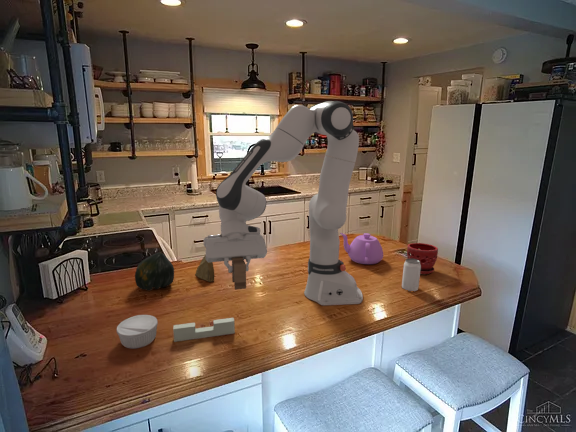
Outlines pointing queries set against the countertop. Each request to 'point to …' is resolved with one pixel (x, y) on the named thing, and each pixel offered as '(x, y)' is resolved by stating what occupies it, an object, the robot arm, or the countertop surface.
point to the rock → (205, 270)
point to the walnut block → (239, 273)
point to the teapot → (364, 249)
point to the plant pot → (423, 256)
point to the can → (411, 274)
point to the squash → (154, 272)
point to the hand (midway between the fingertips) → (238, 271)
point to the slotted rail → (203, 330)
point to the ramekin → (137, 331)
